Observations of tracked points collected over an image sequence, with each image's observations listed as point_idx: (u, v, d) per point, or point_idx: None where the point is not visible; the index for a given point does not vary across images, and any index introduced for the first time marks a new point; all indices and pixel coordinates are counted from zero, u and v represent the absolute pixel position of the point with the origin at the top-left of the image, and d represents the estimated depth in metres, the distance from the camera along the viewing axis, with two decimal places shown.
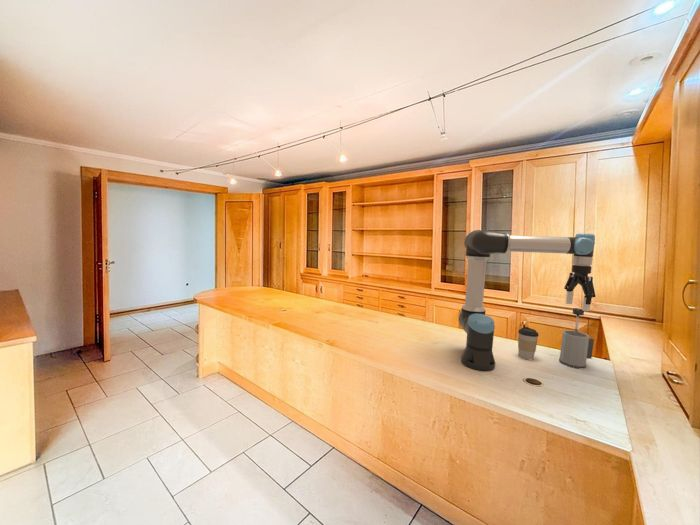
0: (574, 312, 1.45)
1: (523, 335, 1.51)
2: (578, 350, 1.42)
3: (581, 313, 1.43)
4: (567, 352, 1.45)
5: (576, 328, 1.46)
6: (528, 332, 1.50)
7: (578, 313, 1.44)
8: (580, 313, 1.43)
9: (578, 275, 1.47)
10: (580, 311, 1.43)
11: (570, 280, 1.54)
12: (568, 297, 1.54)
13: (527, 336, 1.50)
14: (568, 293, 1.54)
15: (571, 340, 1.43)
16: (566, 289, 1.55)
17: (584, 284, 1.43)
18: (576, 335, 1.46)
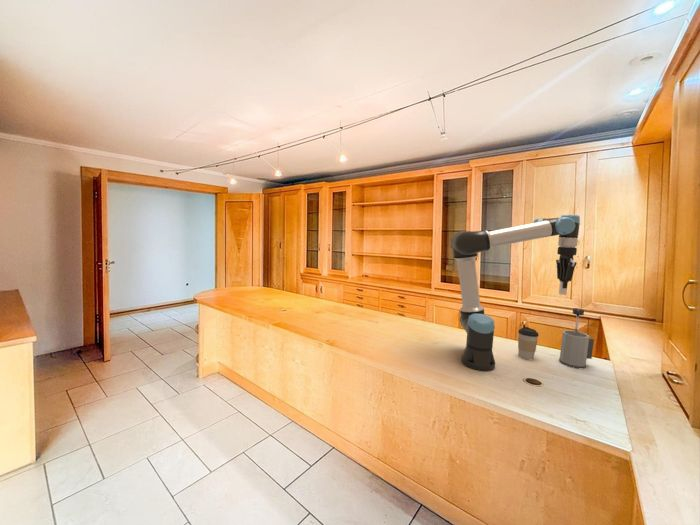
0: (574, 312, 1.45)
1: (523, 335, 1.51)
2: (578, 350, 1.42)
3: (581, 313, 1.43)
4: (567, 352, 1.45)
5: (576, 328, 1.46)
6: (528, 332, 1.50)
7: (578, 313, 1.44)
8: (580, 313, 1.43)
9: (564, 257, 1.45)
10: (580, 311, 1.43)
11: (559, 267, 1.50)
12: None
13: (527, 336, 1.50)
14: None
15: (571, 340, 1.43)
16: (559, 279, 1.48)
17: (566, 268, 1.44)
18: (576, 335, 1.46)
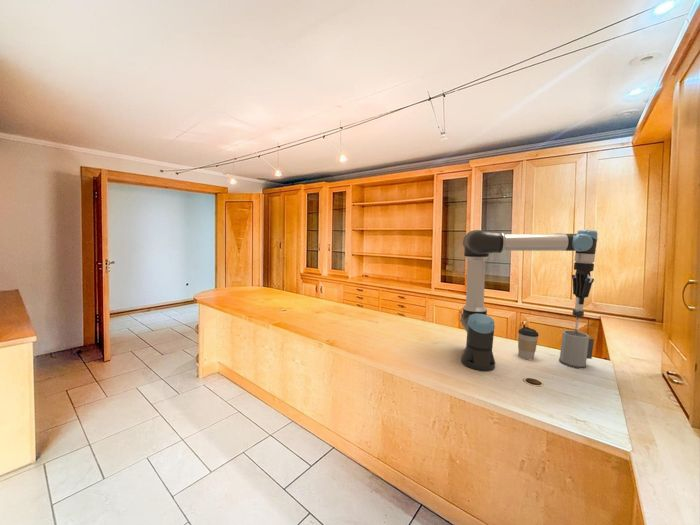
0: (574, 314, 1.45)
1: (523, 335, 1.51)
2: (578, 350, 1.42)
3: (581, 315, 1.43)
4: (567, 352, 1.45)
5: (576, 329, 1.46)
6: (528, 332, 1.50)
7: (578, 315, 1.44)
8: (580, 315, 1.43)
9: (580, 273, 1.43)
10: (580, 313, 1.43)
11: (575, 282, 1.48)
12: None
13: (527, 336, 1.50)
14: None
15: (571, 340, 1.43)
16: (575, 294, 1.46)
17: (583, 284, 1.42)
18: None
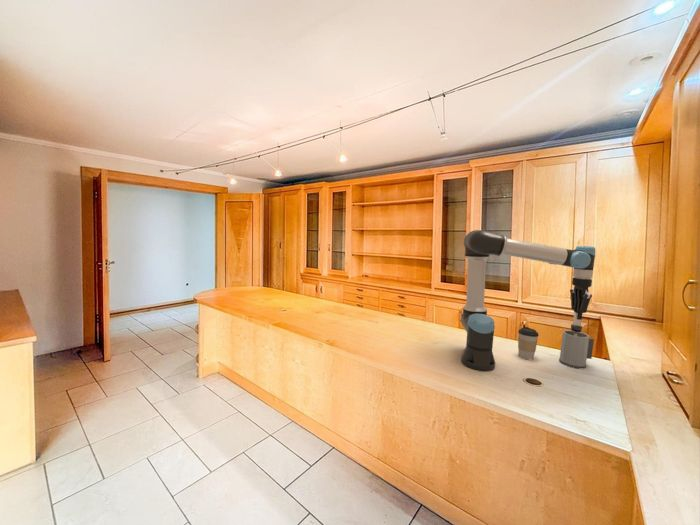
0: (572, 328, 1.46)
1: (523, 335, 1.51)
2: (578, 350, 1.42)
3: (579, 330, 1.44)
4: (567, 352, 1.45)
5: None
6: (528, 332, 1.50)
7: (576, 330, 1.44)
8: (578, 330, 1.44)
9: (578, 288, 1.44)
10: (578, 328, 1.44)
11: (573, 297, 1.48)
12: None
13: (527, 336, 1.50)
14: None
15: (571, 340, 1.43)
16: (573, 309, 1.47)
17: (581, 299, 1.43)
18: None
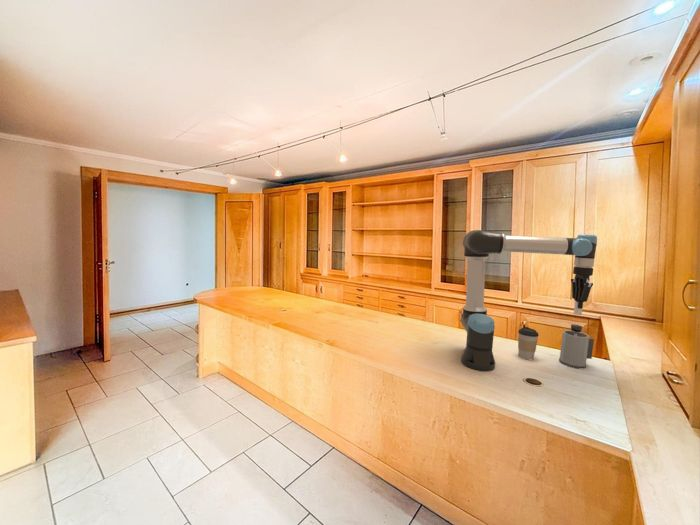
0: (572, 328, 1.46)
1: (523, 335, 1.51)
2: (578, 350, 1.42)
3: (579, 330, 1.44)
4: (567, 352, 1.45)
5: None
6: (528, 332, 1.50)
7: (576, 330, 1.44)
8: (578, 330, 1.44)
9: (579, 277, 1.43)
10: (578, 328, 1.44)
11: (574, 286, 1.48)
12: None
13: (527, 336, 1.50)
14: None
15: (571, 340, 1.43)
16: (574, 298, 1.46)
17: (582, 288, 1.42)
18: None
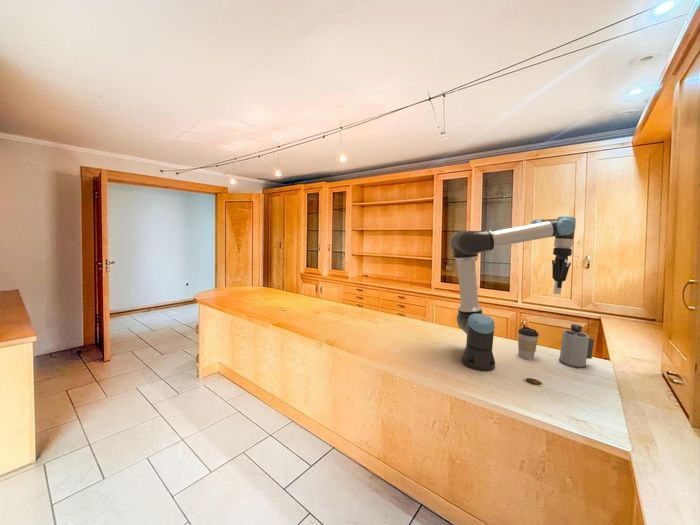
0: (572, 328, 1.46)
1: (523, 335, 1.51)
2: (578, 350, 1.42)
3: (579, 330, 1.44)
4: (567, 352, 1.45)
5: None
6: (528, 332, 1.50)
7: (576, 330, 1.44)
8: (578, 330, 1.44)
9: (559, 258, 1.49)
10: (578, 328, 1.44)
11: (554, 267, 1.53)
12: None
13: (527, 336, 1.50)
14: None
15: (571, 340, 1.43)
16: (554, 279, 1.52)
17: (561, 268, 1.48)
18: None
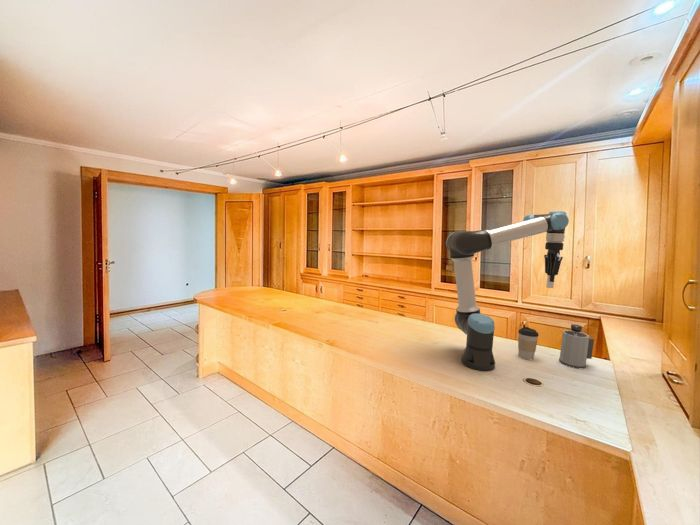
0: (572, 328, 1.46)
1: (523, 335, 1.51)
2: (578, 350, 1.42)
3: (579, 330, 1.44)
4: (567, 352, 1.45)
5: None
6: (528, 332, 1.50)
7: (576, 330, 1.44)
8: (578, 330, 1.44)
9: (551, 252, 1.51)
10: (578, 328, 1.44)
11: (547, 261, 1.56)
12: None
13: (527, 336, 1.50)
14: None
15: (571, 340, 1.43)
16: None
17: (553, 262, 1.50)
18: None
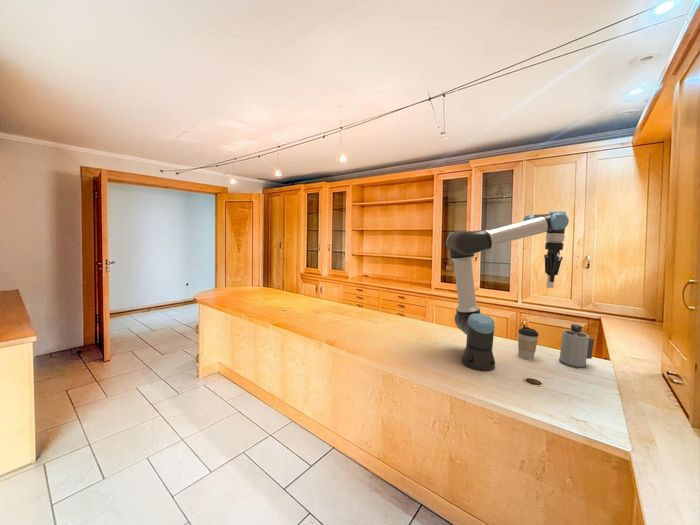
0: (572, 328, 1.46)
1: (523, 335, 1.51)
2: (578, 350, 1.42)
3: (579, 330, 1.44)
4: (567, 352, 1.45)
5: None
6: (528, 332, 1.50)
7: (576, 330, 1.44)
8: (578, 330, 1.44)
9: (551, 252, 1.51)
10: (578, 328, 1.44)
11: (547, 261, 1.56)
12: None
13: (527, 336, 1.50)
14: None
15: (571, 340, 1.43)
16: None
17: (553, 262, 1.50)
18: None
